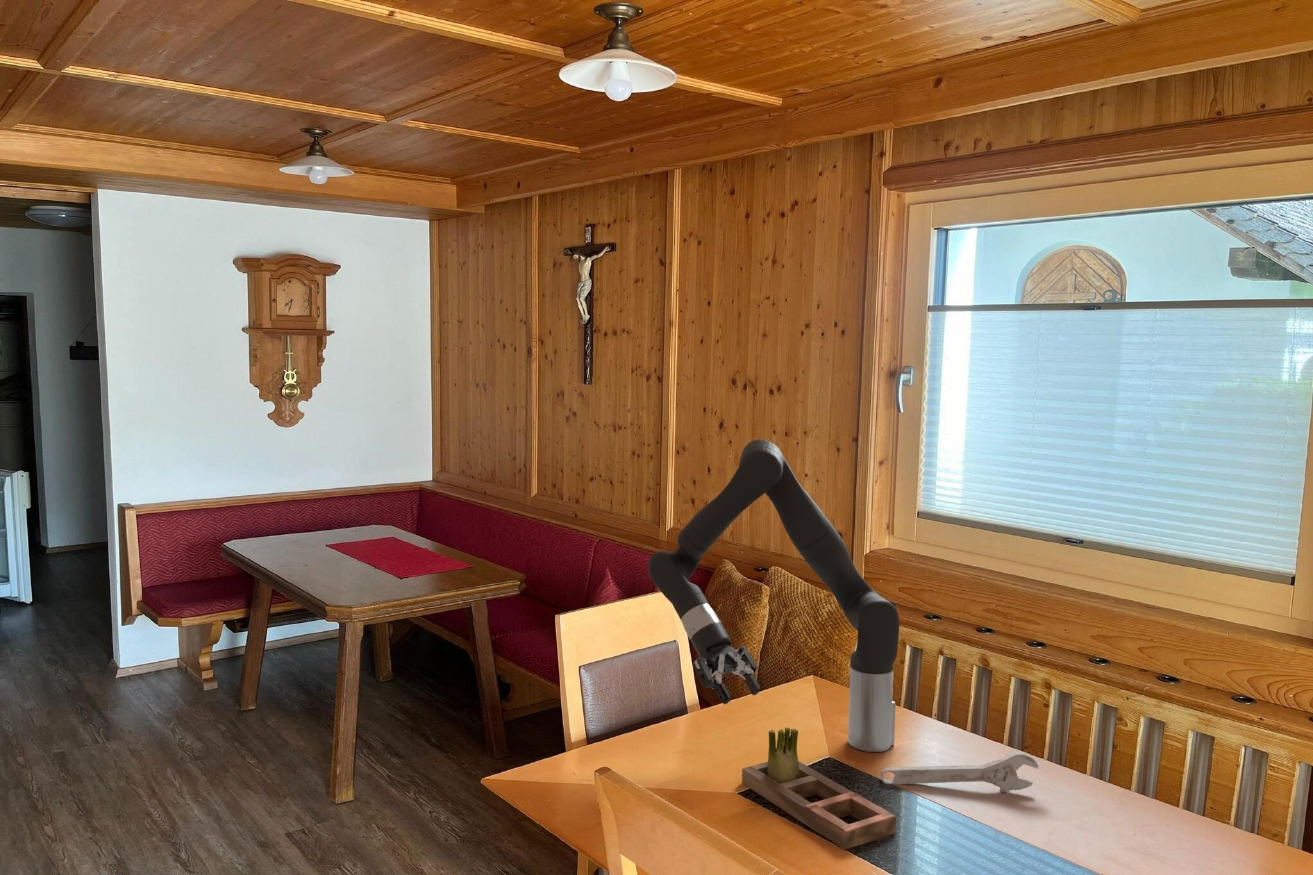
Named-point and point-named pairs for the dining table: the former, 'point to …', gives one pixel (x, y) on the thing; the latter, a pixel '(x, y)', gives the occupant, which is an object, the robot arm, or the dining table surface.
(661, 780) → the dining table surface
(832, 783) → the brown flat frame piece
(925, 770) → the wrench
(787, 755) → the fennel bulb
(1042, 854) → the dining table surface
